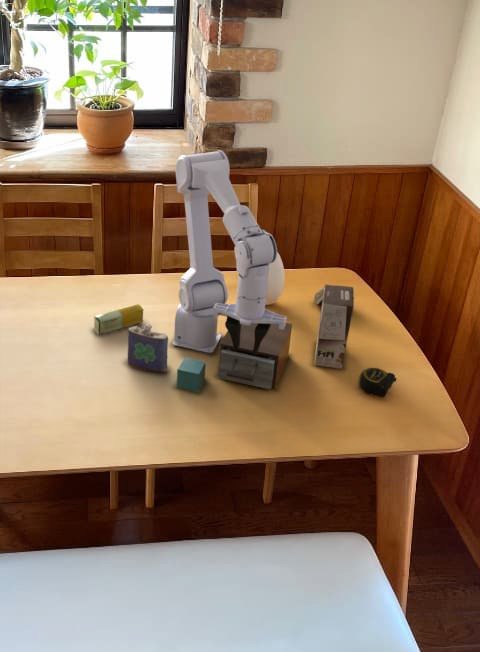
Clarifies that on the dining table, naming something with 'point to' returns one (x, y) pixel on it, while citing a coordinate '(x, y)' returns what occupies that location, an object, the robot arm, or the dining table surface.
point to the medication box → (118, 319)
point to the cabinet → (264, 345)
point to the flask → (147, 349)
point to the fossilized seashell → (319, 297)
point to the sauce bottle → (275, 281)
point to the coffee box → (334, 325)
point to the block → (191, 374)
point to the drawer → (246, 368)
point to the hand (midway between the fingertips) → (246, 350)
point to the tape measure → (376, 381)
